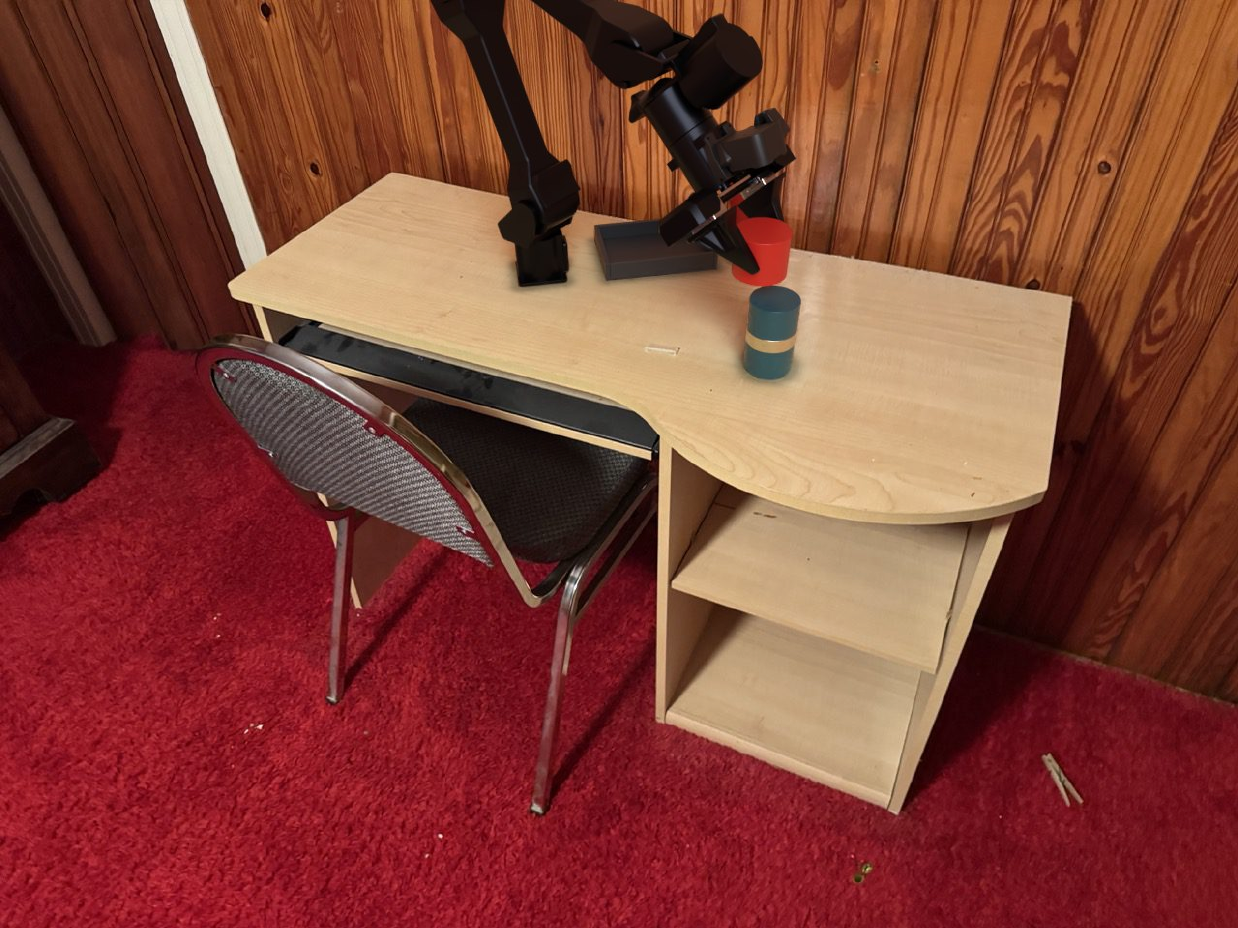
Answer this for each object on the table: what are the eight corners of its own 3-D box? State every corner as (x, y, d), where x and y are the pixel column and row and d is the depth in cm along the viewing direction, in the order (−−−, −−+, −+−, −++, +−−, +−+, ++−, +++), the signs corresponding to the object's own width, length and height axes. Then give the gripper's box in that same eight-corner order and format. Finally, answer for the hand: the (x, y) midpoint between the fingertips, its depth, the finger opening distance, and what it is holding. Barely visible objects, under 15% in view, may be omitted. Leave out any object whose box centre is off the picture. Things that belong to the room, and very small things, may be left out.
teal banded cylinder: (750, 382, 99) (757, 315, 92) (737, 354, 103) (743, 287, 97) (798, 377, 99) (808, 309, 93) (783, 348, 103) (792, 282, 97)
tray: (606, 280, 116) (605, 264, 114) (594, 241, 124) (593, 224, 122) (717, 269, 117) (718, 253, 115) (698, 230, 125) (698, 214, 124)
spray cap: (739, 289, 92) (743, 246, 88) (725, 261, 96) (728, 219, 93) (794, 284, 92) (800, 241, 89) (777, 256, 97) (782, 214, 93)
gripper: (687, 119, 78) (780, 265, 80) (790, 62, 89) (870, 193, 91) (619, 180, 87) (704, 310, 89) (720, 122, 98) (794, 239, 100)
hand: (771, 260), depth 92 cm, fingers closed on spray cap, 6 cm apart
